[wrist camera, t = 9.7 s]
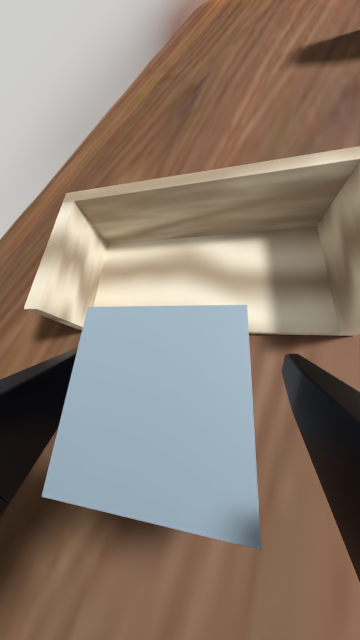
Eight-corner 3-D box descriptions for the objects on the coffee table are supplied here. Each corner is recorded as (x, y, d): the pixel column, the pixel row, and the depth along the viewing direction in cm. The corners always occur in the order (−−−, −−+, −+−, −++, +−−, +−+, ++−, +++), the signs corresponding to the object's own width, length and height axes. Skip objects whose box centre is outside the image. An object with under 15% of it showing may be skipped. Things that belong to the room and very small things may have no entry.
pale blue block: (226, 422, 14) (260, 549, 3) (163, 414, 15) (41, 496, 4) (225, 356, 15) (247, 304, 5) (169, 353, 16) (88, 307, 6)
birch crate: (354, 335, 14) (448, 305, 8) (81, 330, 19) (23, 308, 13) (325, 219, 17) (378, 143, 12) (103, 240, 22) (66, 193, 17)
